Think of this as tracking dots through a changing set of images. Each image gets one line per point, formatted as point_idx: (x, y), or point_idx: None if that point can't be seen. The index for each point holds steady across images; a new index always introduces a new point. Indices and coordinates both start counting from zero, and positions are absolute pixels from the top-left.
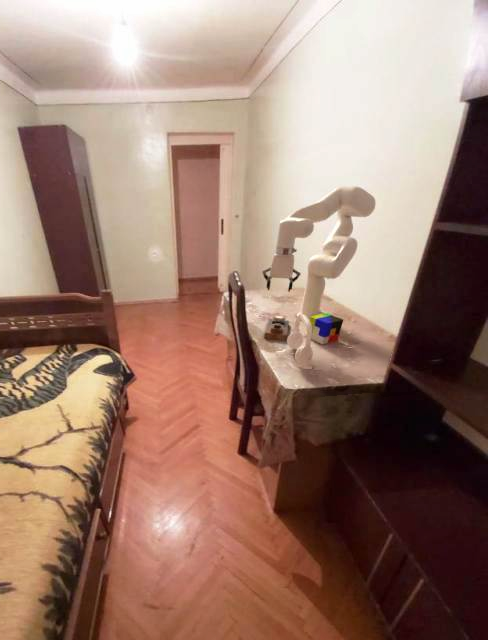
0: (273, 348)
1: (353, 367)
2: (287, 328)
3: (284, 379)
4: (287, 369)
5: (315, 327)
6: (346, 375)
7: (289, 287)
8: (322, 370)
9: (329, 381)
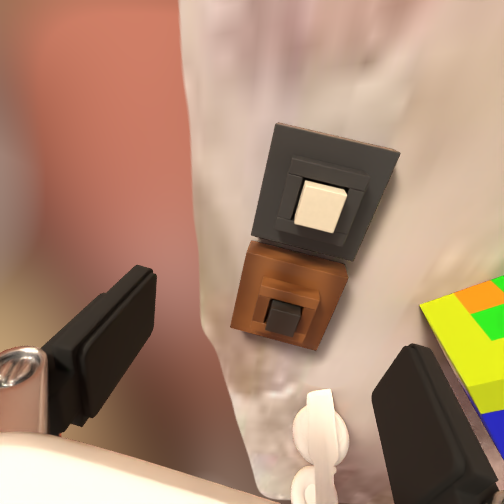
0: (258, 378)
1: None
2: (340, 290)
3: (262, 482)
4: (276, 459)
5: (460, 379)
6: None
7: (390, 452)
8: (360, 472)
9: (355, 499)
